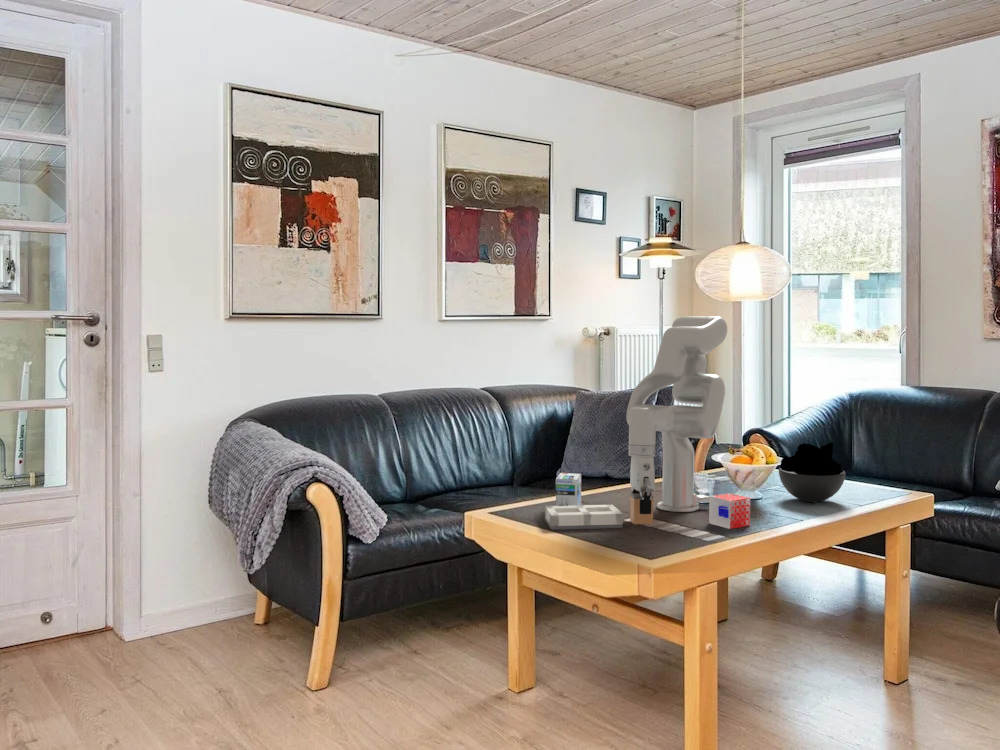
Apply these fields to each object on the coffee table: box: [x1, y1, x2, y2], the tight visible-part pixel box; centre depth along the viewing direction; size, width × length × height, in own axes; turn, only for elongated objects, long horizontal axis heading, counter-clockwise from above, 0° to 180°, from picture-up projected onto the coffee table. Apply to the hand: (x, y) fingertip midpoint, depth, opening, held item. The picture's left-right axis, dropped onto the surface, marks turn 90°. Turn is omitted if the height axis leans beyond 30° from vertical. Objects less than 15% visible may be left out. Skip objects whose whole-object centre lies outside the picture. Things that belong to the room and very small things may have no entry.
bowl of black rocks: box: [778, 442, 846, 503], centre depth 276 cm, size 20×20×19 cm
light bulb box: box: [555, 472, 582, 506], centre depth 264 cm, size 11×7×11 cm, turn 168°
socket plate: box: [544, 504, 624, 531], centre depth 247 cm, size 20×12×4 cm, turn 96°
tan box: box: [629, 493, 654, 525], centre depth 249 cm, size 6×4×8 cm
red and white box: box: [708, 492, 751, 530], centre depth 246 cm, size 8×8×8 cm
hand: (640, 510), depth 248 cm, fingers open, 9 cm apart
